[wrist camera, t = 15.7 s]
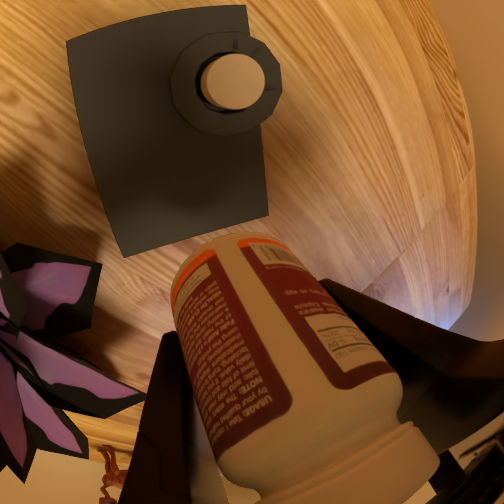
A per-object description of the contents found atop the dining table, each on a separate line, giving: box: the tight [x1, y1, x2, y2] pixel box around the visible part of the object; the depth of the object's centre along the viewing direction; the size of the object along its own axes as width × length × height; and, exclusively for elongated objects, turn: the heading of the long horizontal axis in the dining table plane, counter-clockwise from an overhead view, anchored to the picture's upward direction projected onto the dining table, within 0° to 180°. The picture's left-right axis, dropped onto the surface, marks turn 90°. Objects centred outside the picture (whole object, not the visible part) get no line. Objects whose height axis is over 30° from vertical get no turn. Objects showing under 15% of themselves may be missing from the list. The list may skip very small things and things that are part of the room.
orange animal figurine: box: [98, 445, 128, 504], centre depth 30 cm, size 18×7×14 cm, turn 46°
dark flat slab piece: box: [66, 5, 282, 258], centre depth 13 cm, size 11×14×3 cm
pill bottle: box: [170, 232, 440, 504], centre depth 7 cm, size 5×5×8 cm
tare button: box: [200, 54, 265, 109], centre depth 11 cm, size 3×3×2 cm
